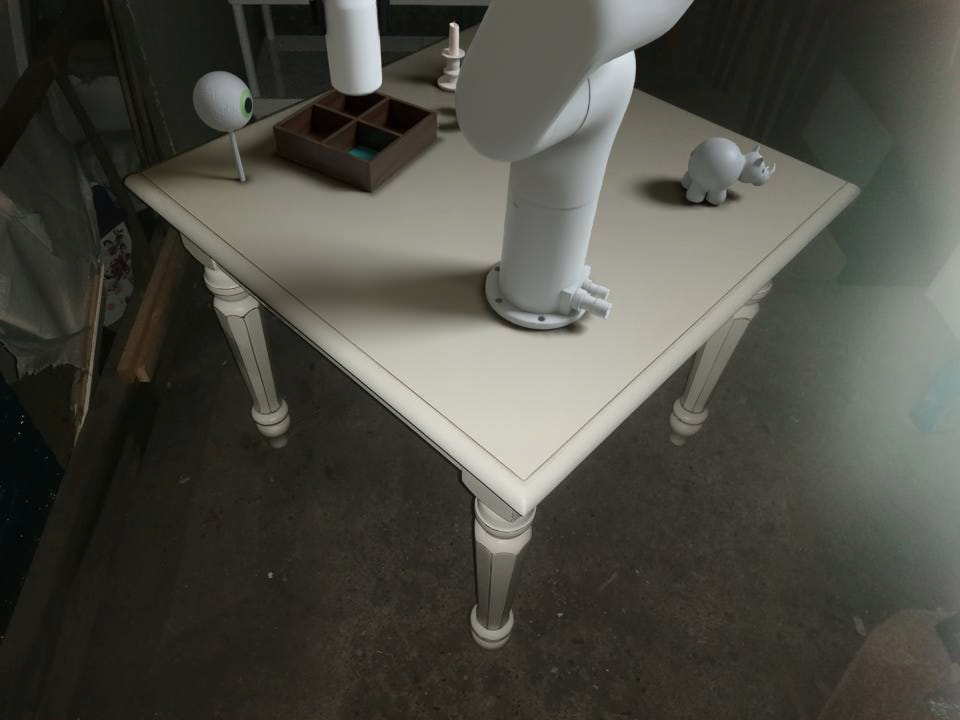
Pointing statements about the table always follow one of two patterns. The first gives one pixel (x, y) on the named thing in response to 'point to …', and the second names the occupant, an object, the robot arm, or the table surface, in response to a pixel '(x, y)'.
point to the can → (353, 45)
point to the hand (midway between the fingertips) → (351, 28)
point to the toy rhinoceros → (722, 170)
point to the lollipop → (224, 106)
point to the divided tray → (356, 136)
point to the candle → (451, 60)
